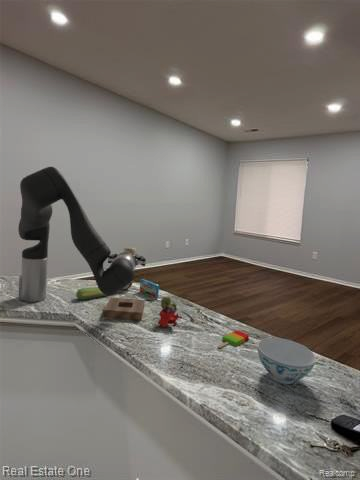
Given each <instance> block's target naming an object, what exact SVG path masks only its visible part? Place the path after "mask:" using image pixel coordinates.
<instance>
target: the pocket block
mask: <svg viewBox="0 0 360 480" xmlns="http://www.w3.org/2000/svg"><path fill="white" fill-rule="evenodd" d="M144 309H145V299H138V298H137V299H136V298H135V299H134V298H123V297H122V298H121V297H120V298H119V297H110V298H109V299H108V301H107V303H106V305H105V307H104V309H103V315H102V318H104V319H113V320H114V319H115V320H117V319H119V320H129V321H130V320H131V321H142V319H143V315H144Z"/></svg>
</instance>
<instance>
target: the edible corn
mask: <svg viewBox="0 0 360 480" xmlns="http://www.w3.org/2000/svg"><path fill="white" fill-rule="evenodd" d="M75 297H76V298H77V299H79V300H81V301H86V300H93V299H95V298H96V299H97V298H103V297H107V295H105V294H103V293H102V292H101V291H100V289H99V288H98V286H91V287H82V288H79V289H78V290H77V291H76V293H75Z"/></svg>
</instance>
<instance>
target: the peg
mask: <svg viewBox="0 0 360 480" xmlns="http://www.w3.org/2000/svg"><path fill="white" fill-rule="evenodd" d="M136 251H137V248H136V247H130V246H129V247H128V246H127V247H123V252H128V253H131V254H132V255H135V254H137V253H136ZM131 283H132V284H133V283H134V280H133V281H132V282H131Z"/></svg>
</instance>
